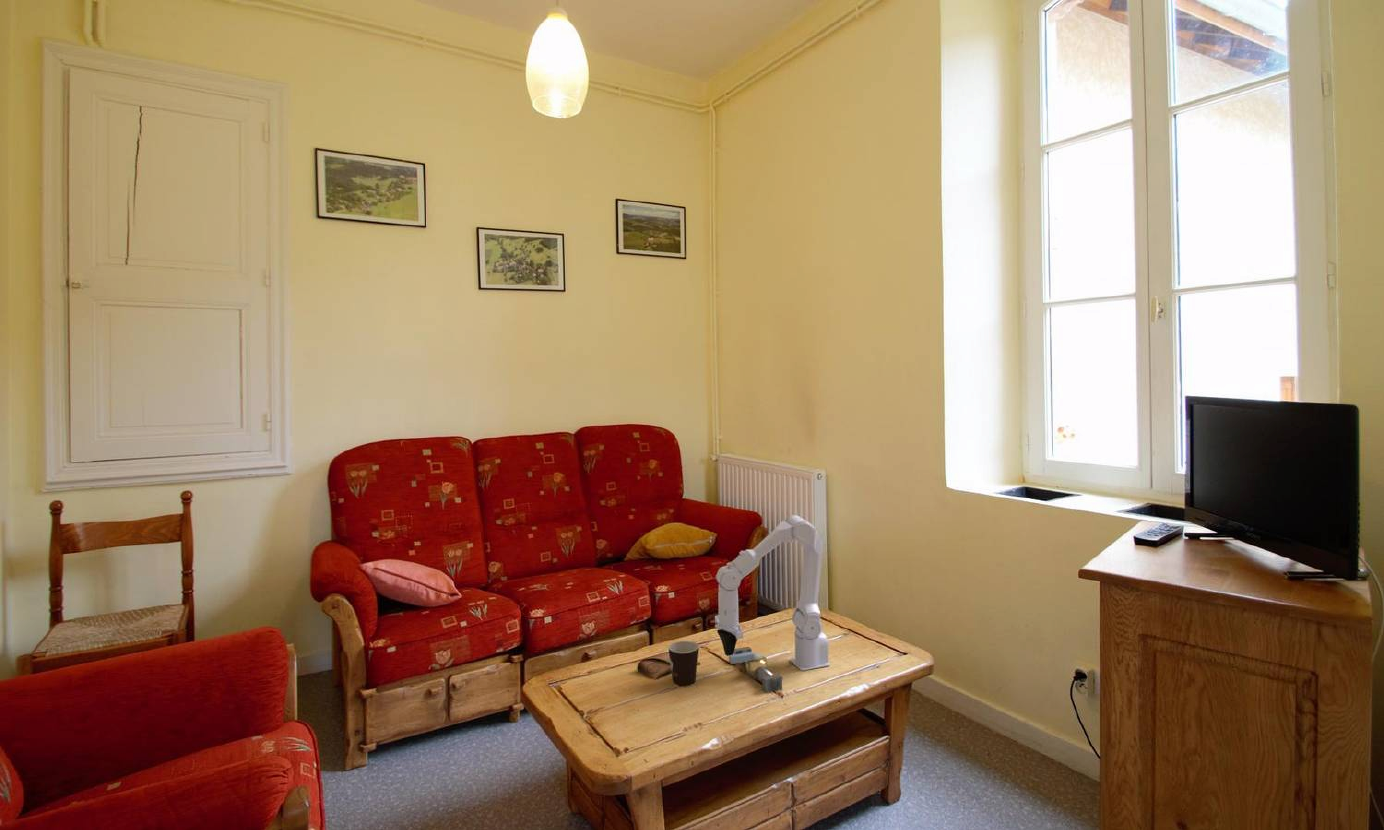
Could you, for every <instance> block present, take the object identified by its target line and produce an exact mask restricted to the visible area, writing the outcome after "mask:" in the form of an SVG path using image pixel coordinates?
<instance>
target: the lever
mask: <svg viewBox="0 0 1384 830" xmlns="http://www.w3.org/2000/svg"><path fill="white" fill-rule="evenodd" d="M762 656H763V654H762V653H761V652H753V651H751V652H746V653H740V654H734V653H733V655H729V656H728V659H729V661H728V662H729V663H730V664H732V665H733V664H742V663H741V662H746V661H752V660H755V661H759V660H761V659H762Z"/></svg>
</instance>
